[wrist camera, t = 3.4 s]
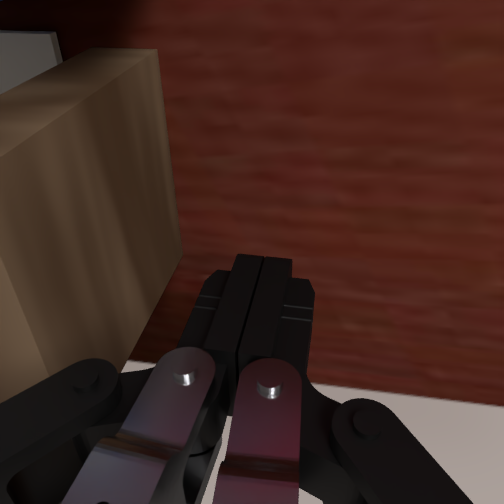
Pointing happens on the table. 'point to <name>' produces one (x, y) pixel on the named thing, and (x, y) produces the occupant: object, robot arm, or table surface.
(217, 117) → the table surface
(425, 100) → the table surface
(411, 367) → the table surface
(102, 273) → the tile
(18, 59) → the mat
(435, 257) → the table surface
